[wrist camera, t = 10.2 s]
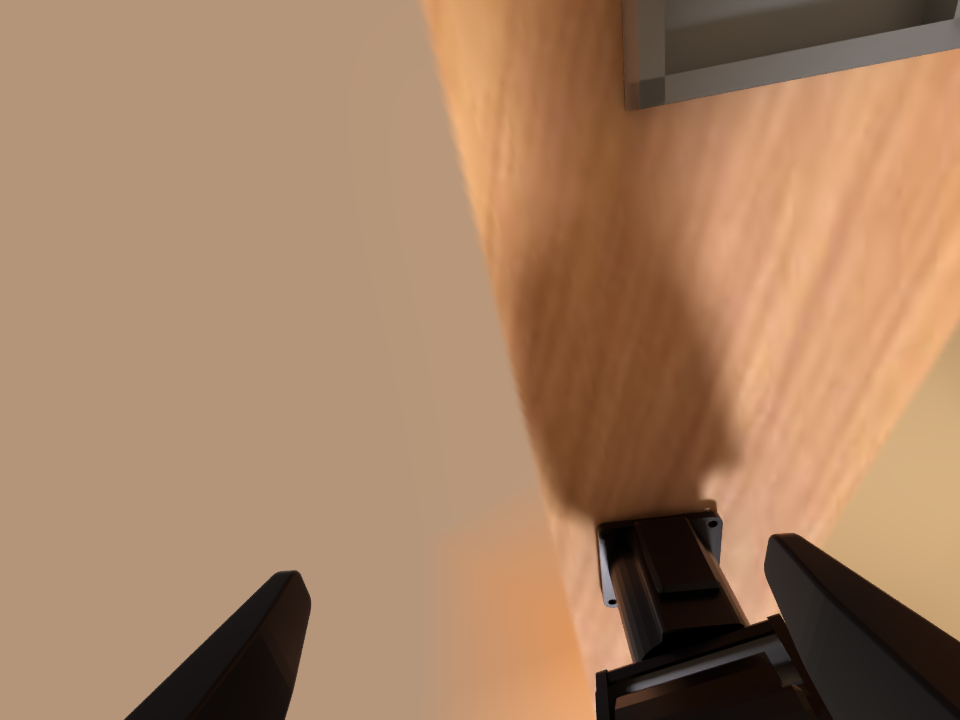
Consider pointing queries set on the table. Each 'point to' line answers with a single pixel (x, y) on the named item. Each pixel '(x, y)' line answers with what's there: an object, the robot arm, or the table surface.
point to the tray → (769, 42)
